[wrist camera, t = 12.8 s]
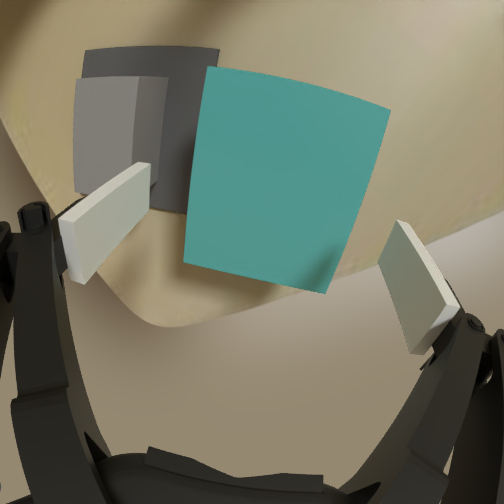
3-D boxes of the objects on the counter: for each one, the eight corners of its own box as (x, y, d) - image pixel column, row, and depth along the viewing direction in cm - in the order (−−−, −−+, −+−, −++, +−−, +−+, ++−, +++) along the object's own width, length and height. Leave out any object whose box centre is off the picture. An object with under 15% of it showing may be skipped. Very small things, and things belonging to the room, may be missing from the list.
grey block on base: (81, 191, 29) (48, 214, 23) (87, 50, 20) (48, 50, 15) (194, 214, 29) (173, 244, 23) (219, 49, 20) (199, 39, 15)
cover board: (191, 248, 23) (183, 262, 22) (215, 68, 16) (207, 66, 14) (323, 278, 23) (325, 293, 22) (381, 107, 16) (390, 110, 14)
